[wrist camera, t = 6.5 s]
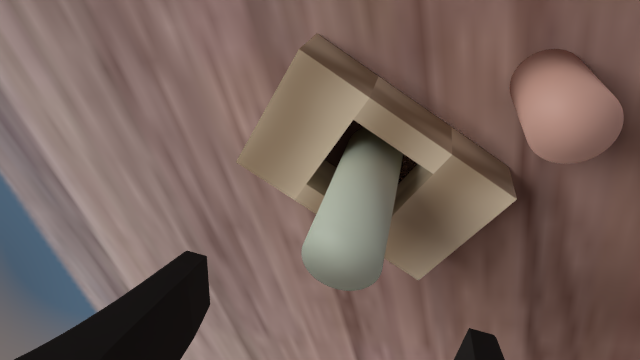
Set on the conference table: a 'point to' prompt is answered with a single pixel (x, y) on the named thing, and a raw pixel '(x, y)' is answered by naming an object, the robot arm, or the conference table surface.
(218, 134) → the conference table surface
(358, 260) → the long pin
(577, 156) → the short pin
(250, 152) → the hole plate
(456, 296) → the conference table surface
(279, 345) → the conference table surface
